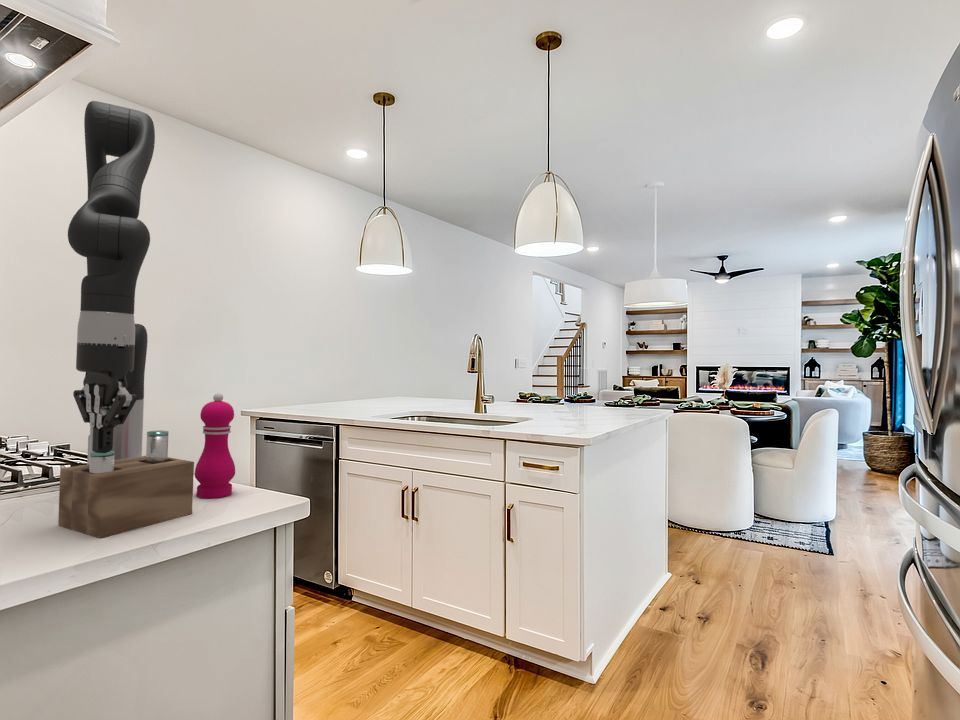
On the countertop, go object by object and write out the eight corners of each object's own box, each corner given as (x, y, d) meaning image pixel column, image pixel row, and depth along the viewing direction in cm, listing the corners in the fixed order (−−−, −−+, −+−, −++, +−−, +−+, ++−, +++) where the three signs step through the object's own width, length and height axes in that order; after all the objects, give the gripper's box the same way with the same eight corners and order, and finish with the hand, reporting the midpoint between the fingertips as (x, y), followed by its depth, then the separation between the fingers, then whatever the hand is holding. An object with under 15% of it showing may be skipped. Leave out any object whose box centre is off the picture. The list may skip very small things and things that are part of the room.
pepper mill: (204, 501, 102) (208, 395, 102) (186, 494, 106) (190, 392, 106) (241, 494, 107) (245, 394, 107) (223, 488, 112) (226, 391, 112)
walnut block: (58, 525, 85) (60, 468, 85) (151, 503, 99) (152, 454, 99) (100, 538, 80) (102, 477, 80) (192, 513, 94) (194, 461, 94)
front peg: (83, 502, 85) (85, 451, 85) (105, 498, 88) (106, 448, 88) (95, 505, 83) (97, 454, 83) (117, 501, 86) (119, 451, 86)
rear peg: (141, 478, 93) (142, 431, 93) (158, 475, 96) (160, 430, 96) (153, 481, 91) (154, 433, 91) (170, 477, 94) (172, 431, 94)
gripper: (55, 339, 85) (51, 450, 85) (107, 341, 79) (102, 460, 79) (105, 341, 92) (102, 444, 92) (156, 343, 86) (152, 452, 86)
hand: (102, 451), depth 85 cm, fingers closed
